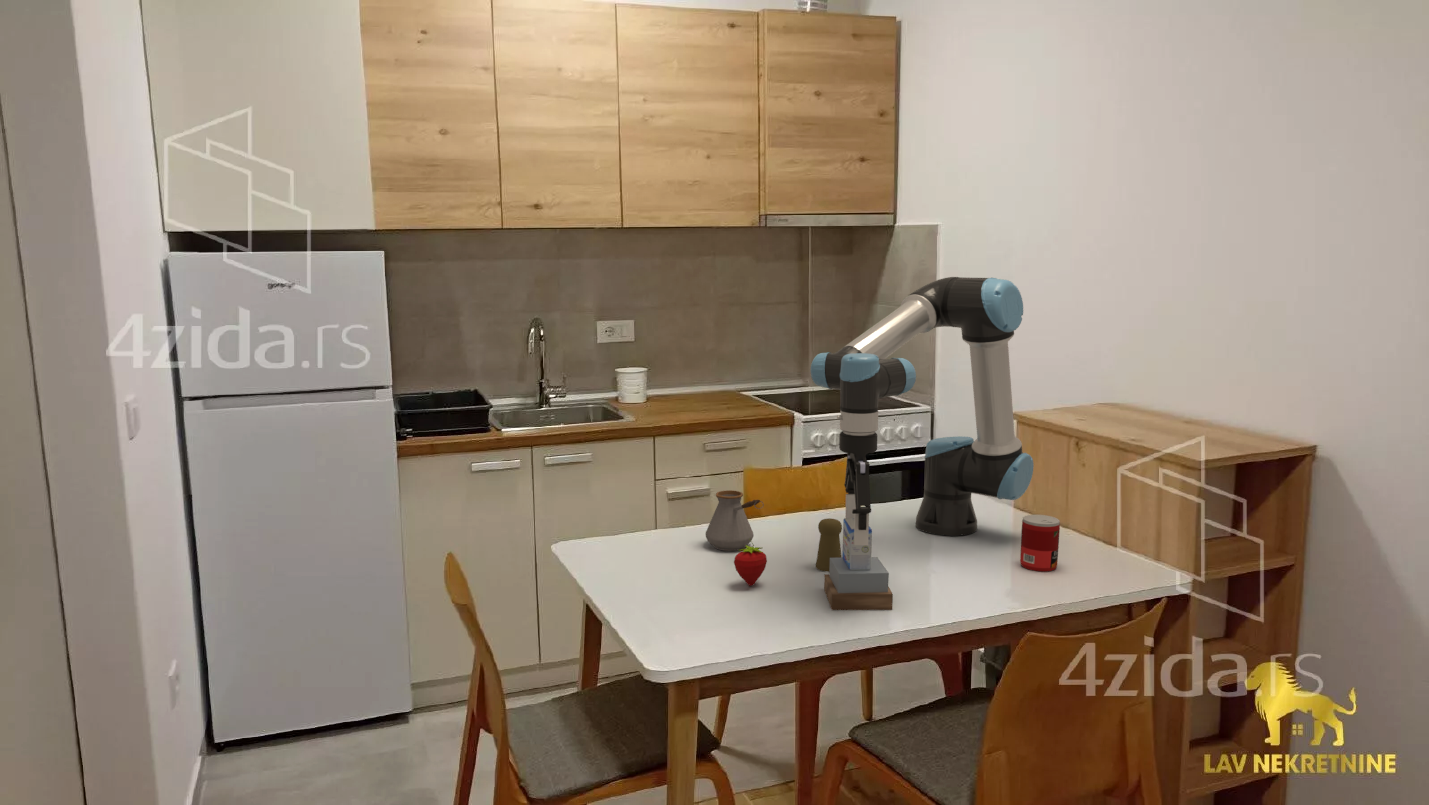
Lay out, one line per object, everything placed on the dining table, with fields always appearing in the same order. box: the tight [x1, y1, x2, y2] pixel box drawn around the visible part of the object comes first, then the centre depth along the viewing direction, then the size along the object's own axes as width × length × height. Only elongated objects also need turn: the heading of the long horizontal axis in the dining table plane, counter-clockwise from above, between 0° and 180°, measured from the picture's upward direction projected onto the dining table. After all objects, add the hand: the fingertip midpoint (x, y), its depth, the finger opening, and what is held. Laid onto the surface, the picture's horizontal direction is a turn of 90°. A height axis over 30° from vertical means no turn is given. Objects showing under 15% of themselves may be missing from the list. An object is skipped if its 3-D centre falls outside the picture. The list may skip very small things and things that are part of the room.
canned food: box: [1019, 514, 1061, 573], centre depth 228 cm, size 8×8×11 cm
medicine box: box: [841, 517, 873, 570], centre depth 207 cm, size 8×4×9 cm, turn 4°
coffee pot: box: [705, 490, 765, 552], centre depth 237 cm, size 21×12×15 cm, turn 25°
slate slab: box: [828, 556, 890, 593], centre depth 207 cm, size 10×10×4 cm
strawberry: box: [733, 540, 768, 587], centre depth 215 cm, size 6×8×10 cm
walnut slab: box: [823, 573, 894, 611], centre depth 208 cm, size 12×12×4 cm
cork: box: [815, 518, 843, 573], centre depth 227 cm, size 6×6×11 cm
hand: (856, 534), depth 207 cm, fingers open, 13 cm apart
